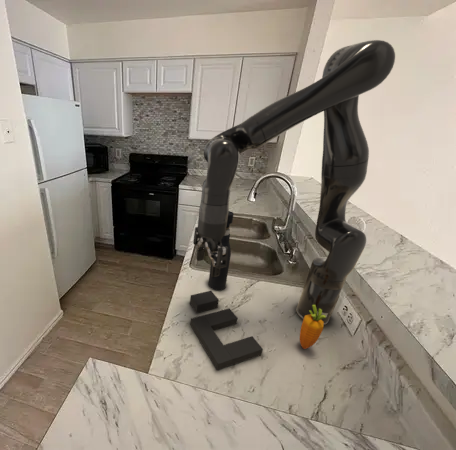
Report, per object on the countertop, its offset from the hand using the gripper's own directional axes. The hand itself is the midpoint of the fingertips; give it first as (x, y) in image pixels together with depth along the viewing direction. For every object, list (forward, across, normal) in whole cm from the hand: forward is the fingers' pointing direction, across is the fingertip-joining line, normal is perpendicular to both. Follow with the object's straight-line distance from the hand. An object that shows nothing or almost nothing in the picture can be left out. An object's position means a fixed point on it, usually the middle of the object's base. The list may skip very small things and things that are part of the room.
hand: (206, 267), depth 74 cm
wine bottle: (+19, +12, -13) cm, 26 cm away
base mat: (+19, -10, -2) cm, 22 cm away
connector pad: (+19, +4, -3) cm, 20 cm away
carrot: (+20, -20, -22) cm, 36 cm away
